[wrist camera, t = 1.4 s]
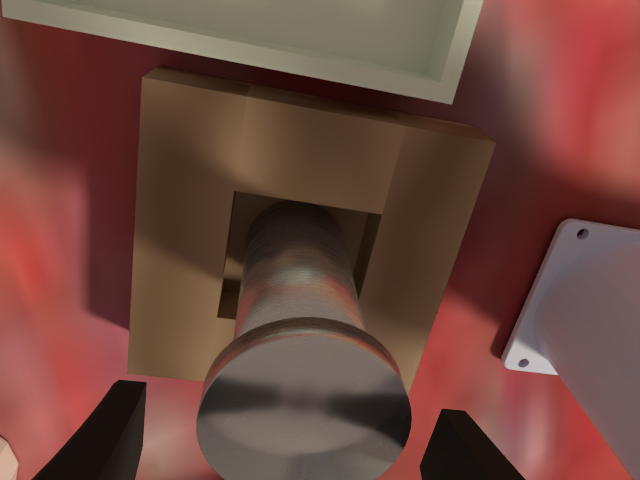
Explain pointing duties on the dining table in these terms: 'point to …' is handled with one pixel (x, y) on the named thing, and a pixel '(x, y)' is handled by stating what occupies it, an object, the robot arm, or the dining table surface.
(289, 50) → the tray
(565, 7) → the dining table surface
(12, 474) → the white cup
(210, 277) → the socket block
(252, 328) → the steel pin
